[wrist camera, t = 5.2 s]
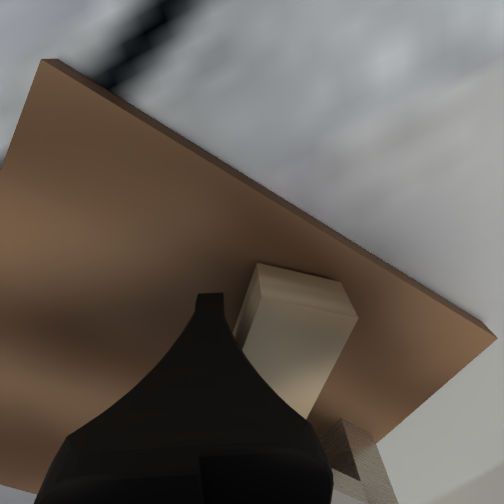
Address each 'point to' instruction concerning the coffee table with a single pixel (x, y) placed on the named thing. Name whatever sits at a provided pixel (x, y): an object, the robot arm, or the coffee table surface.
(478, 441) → the coffee table surface
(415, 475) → the coffee table surface
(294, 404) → the link
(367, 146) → the coffee table surface
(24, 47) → the coffee table surface
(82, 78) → the board
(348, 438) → the keeper
